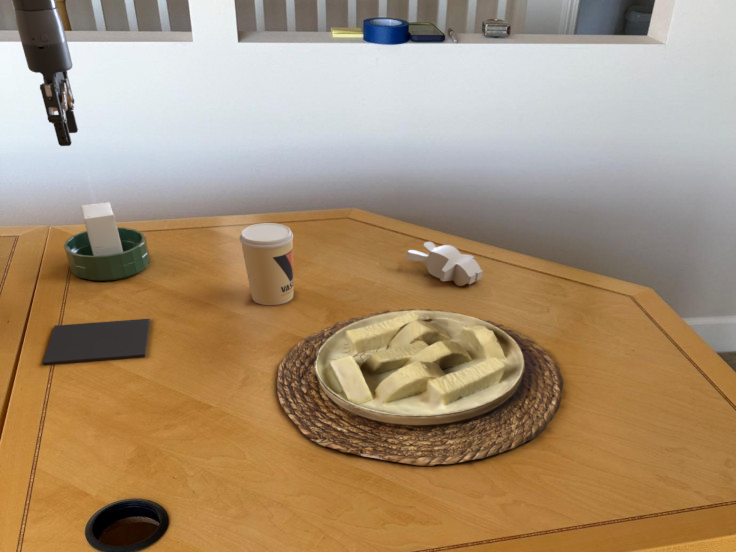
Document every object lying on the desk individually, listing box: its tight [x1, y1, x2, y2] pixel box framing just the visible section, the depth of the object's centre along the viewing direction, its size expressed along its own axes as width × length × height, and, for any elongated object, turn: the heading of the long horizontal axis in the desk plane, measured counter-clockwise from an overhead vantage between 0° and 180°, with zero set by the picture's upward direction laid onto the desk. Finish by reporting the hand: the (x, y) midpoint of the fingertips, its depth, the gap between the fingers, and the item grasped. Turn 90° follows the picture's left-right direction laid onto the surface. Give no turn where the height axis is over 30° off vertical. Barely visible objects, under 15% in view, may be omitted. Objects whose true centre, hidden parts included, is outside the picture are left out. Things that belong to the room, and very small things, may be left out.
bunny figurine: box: [405, 241, 484, 287], centre depth 150 cm, size 10×5×15 cm
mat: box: [42, 318, 151, 366], centre depth 130 cm, size 16×13×1 cm
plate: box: [276, 308, 564, 467], centre depth 120 cm, size 45×45×7 cm
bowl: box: [63, 226, 151, 282], centre depth 152 cm, size 15×15×5 cm
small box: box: [80, 201, 123, 256], centre depth 150 cm, size 8×6×10 cm
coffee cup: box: [239, 222, 294, 306], centre depth 140 cm, size 9×9×12 cm
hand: (69, 138), depth 146 cm, fingers open, 8 cm apart
